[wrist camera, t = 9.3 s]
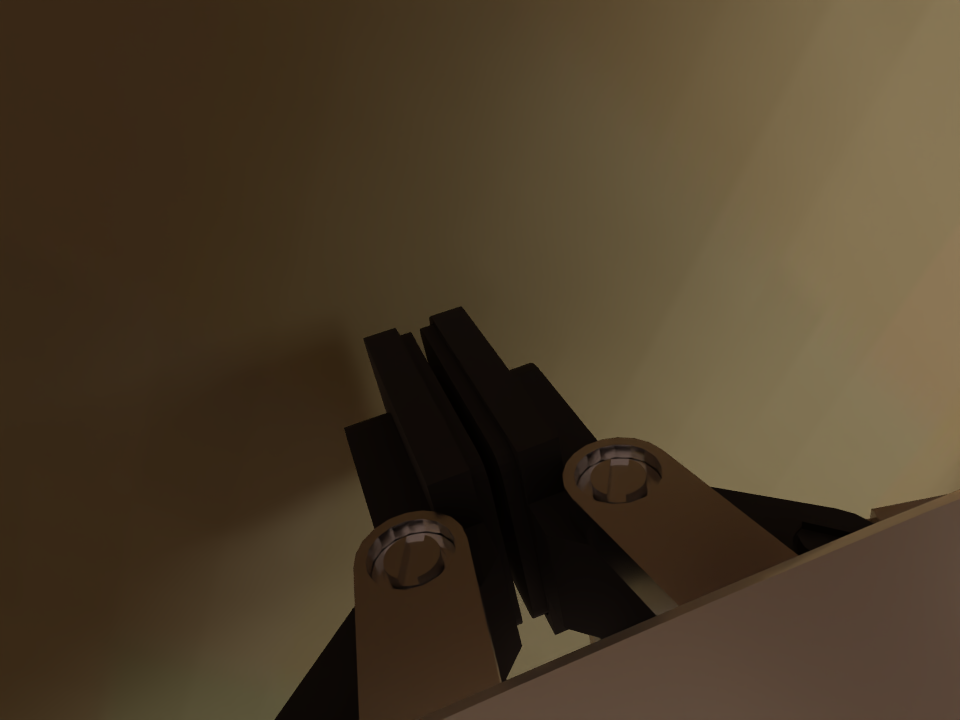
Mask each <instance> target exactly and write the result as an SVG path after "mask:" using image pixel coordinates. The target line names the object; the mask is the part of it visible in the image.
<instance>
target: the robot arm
mask: <svg viewBox="0 0 960 720" xmlns="http://www.w3.org/2000/svg"><path fill="white" fill-rule="evenodd" d="M429 320H430V326H427V327H424V328H421V329H420V333H421V338H422V341H423V345H424V349H425V353H426V356H427V360H428V362H427V360H426V358H425V356H424V355H423V353H422V351H421V349H420V347H419V346H418V344H417V342H416V340H415V338H414V337H413V335H412V333H411V332H409V333H406V334H403V335H399V333H398V331H397V329H396V328H393V329H390V330H387V331H384V332H381V333H378V334H375V335H372V336H369V337H366V338H364V342H365V346H366V349H367V352H368V356H369V359H370V362H371V365H372V368H373V371H374V374H375V378H376V381H377V384H378V387H379V390H380V393H381V397H382V400H383V403H384V406H385V409H386V412H387V413H385V414H382V415H380V416H377V417H374V418H371V419H368V420H365V421H362V422H360V423H357V424H354V425H351V426H348V427H345V428H344V430H345V433H346V437H347V440H348V443H349V447H350V450H351V453H352V456H353V460H354V463H355V466H356V470H357V473H358V476H359V480H360V483H361V486H362V489H363V493H364V496H365V499H366V503H367V506H368V509H369V512H370V516H371V519H372V522H373V526H374V530H373V531H372V532H371V533H370V534H369V535H368V536H367V537H366V538H365V539H364V540H363V541H362V543H361V545H360V547H359V549H358V551H357V552H356V555H355V561H354V567H353V572H354V598H355V607H354V608H353V609H352V611H351V612H350V614H349V615H348V616H347V618H346V619H345V621H344V622H343V624H342V625H341V626H340V628H339V629H338V631H337V632H336V633H335V635H334V636H333V638H332V639H331V640H330V642H329V643H328V645H327V646H326V648H325V649H324V650H323V652H322V653H321V655H320V656H319V657H318V659H317V660H316V662H315V663H314V665H313V666H312V667H311V669H310V670H309V672H308V673H307V674H306V676H305V677H304V679H303V680H302V682H301V683H300V684H299V686H298V687H297V689H296V690H295V691H294V693H293V694H292V696H291V697H290V699H289V700H288V701H287V703H286V704H285V706H284V707H283V708H282V710H281V711H280V713H279V714H278V716H277V717H276V718H275V720H960V490H957V491H955V492H952V493H950V494H946V495H941V496H936V497H931V498H926V499H921V500H916V501H910V502H905V503H900V504H895V505H890V506H885V507H880V508H875V509H871V515H870V519H864V518H862V517H860V516H858V515H856V514H854V513H850V512H847V511H843V510H839V509H836V508H830V507H824V506H819V505H813V504H807V503H801V502H795V501H790V500H784V499H778V498H772V497H766V496H761V495H755V494H749V493H743V492H738V491H732V490H726V489H720V488H714V487H710V486H708V485H707V484H706V483H705V482H703V481H702V480H701V479H699V478H698V477H697V476H696V475H694V474H693V473H692V472H690V471H689V470H688V469H687V468H685V467H684V466H683V465H681V464H680V463H679V462H678V461H676V460H675V459H674V458H672V457H671V456H670V455H669V454H667V453H666V452H665V451H663V450H662V449H660V448H659V447H657V446H655V445H653V444H652V443H650V442H647V441H643V440H639V439H636V438H623V437H616V438H609V439H602V440H599V441H597V440H596V438H595V437H594V436H593V435H592V433H591V432H590V431H589V430H588V429H587V427H586V426H585V425H584V424H583V422H582V421H581V420H580V419H579V417H578V416H577V415H576V414H575V413H574V411H573V410H572V409H571V408H570V406H569V405H568V404H567V403H566V402H565V400H564V399H563V398H562V397H561V395H560V394H559V393H558V392H557V390H556V389H555V388H554V387H553V386H552V384H551V383H550V382H549V381H548V379H547V378H546V377H545V376H544V375H543V373H542V372H541V371H540V370H539V368H538V367H537V366H536V365H535V364H534V363H529V364H526V365H523V366H520V367H517V368H514V369H512V370H508V368H507V367H506V365H505V364H504V363H503V361H502V360H501V359H500V357H499V356H498V355H497V353H496V352H495V351H494V349H493V348H492V347H491V345H490V344H489V343H488V341H487V340H486V338H485V337H484V336H483V334H482V333H481V332H480V330H479V329H478V328H477V326H476V325H475V324H474V322H473V321H472V320H471V318H470V317H469V316H468V314H467V313H466V311H465V310H464V309H463V308H462V307H457V308H454V309H451V310H448V311H445V312H442V313H439V314H436V315H433V316H430V317H429ZM513 581H514V583H515V585H516V587H517V589H518V591H519V593H520V595H521V597H522V599H523V601H524V603H525V605H526V607H527V609H528V611H529V613H530V615H531V617H532V618H536V617H538V616H541V615H543V614H545V616H546V618H547V620H548V622H549V624H550V626H551V628H552V630H553V632H554V634H555V635H556V634H559V633H561V632H563V631H566V630H568V629H570V630H574V631H577V632H581V633H584V634H588V635H589V637H590V643H591V644H590V645H588V646H585V647H583V648H581V649H578V650H576V651H574V652H571V653H569V654H567V655H564V656H562V657H560V658H557V659H555V660H553V661H550V662H548V663H546V664H543V665H541V666H539V667H536V668H534V669H532V670H529V671H527V672H525V673H522V674H520V675H518V676H515V677H513V678H511V679H509V680H506V678H507V676H508V674H509V672H510V670H511V668H512V666H513V664H514V661H515V659H516V657H517V655H518V653H519V651H520V649H521V647H522V644H521V640H520V636H519V632H518V628H517V625H519V624H522V622H523V621H522V616H521V612H520V608H519V604H518V600H517V596H516V591H515V587H514V583H513Z"/></svg>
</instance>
